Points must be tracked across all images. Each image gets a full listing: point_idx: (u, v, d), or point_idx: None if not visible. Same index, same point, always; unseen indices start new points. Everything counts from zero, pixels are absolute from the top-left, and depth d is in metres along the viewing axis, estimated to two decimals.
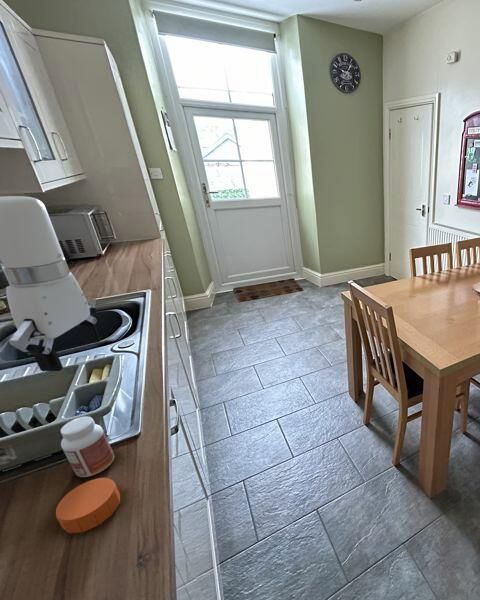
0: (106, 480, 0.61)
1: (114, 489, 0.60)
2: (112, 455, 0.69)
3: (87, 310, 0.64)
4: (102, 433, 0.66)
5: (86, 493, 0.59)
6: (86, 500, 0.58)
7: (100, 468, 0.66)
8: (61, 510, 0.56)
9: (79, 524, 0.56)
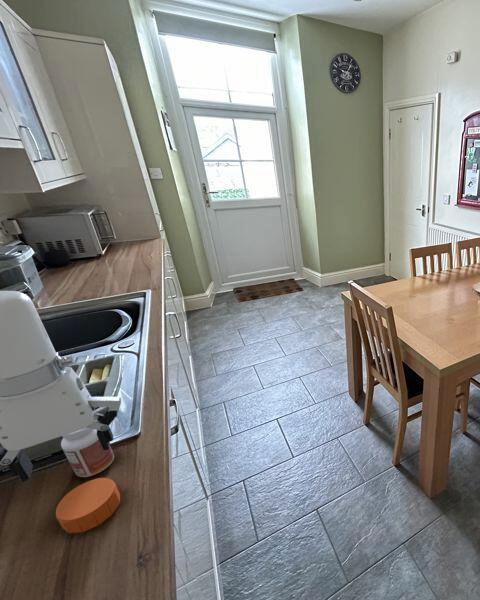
0: (106, 480, 0.61)
1: (114, 489, 0.60)
2: (112, 455, 0.69)
3: (84, 420, 0.52)
4: None
5: (86, 493, 0.59)
6: (86, 500, 0.58)
7: (100, 468, 0.66)
8: (61, 510, 0.56)
9: (79, 524, 0.56)
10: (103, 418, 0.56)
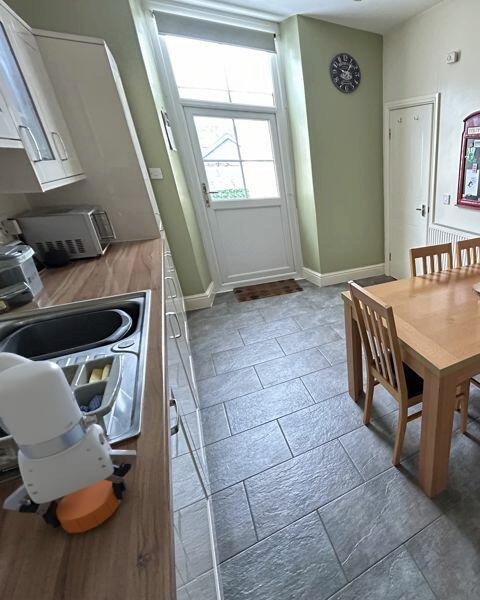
0: (106, 480, 0.61)
1: None
2: None
3: (105, 472, 0.57)
4: (102, 433, 0.66)
5: (86, 493, 0.59)
6: (86, 500, 0.58)
7: None
8: (61, 510, 0.56)
9: (79, 524, 0.56)
10: (119, 470, 0.60)
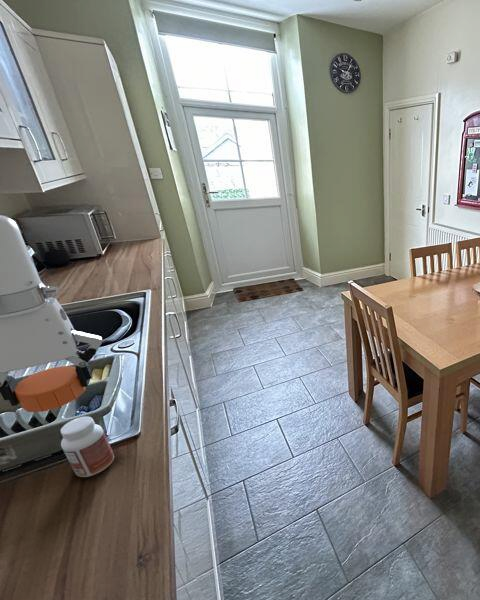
0: (71, 368, 0.59)
1: None
2: (112, 455, 0.69)
3: (66, 350, 0.54)
4: (102, 433, 0.66)
5: (48, 376, 0.56)
6: (47, 381, 0.55)
7: (100, 468, 0.66)
8: (20, 387, 0.54)
9: (38, 402, 0.53)
10: None
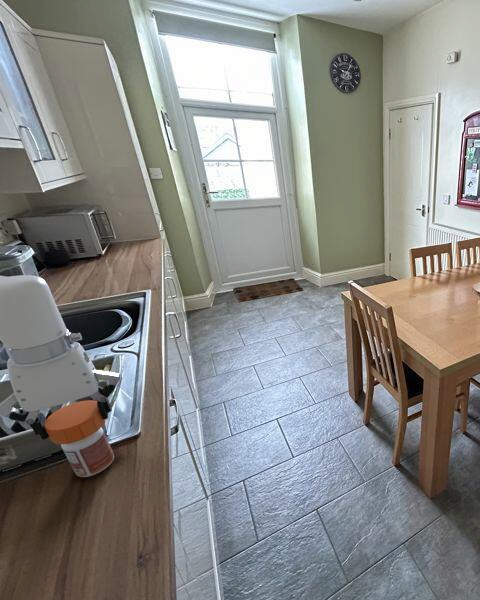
0: (92, 402, 0.66)
1: None
2: (112, 455, 0.69)
3: (89, 388, 0.61)
4: (102, 433, 0.66)
5: (73, 411, 0.63)
6: (73, 416, 0.62)
7: (100, 468, 0.66)
8: (49, 423, 0.60)
9: (66, 435, 0.60)
10: (103, 391, 0.64)
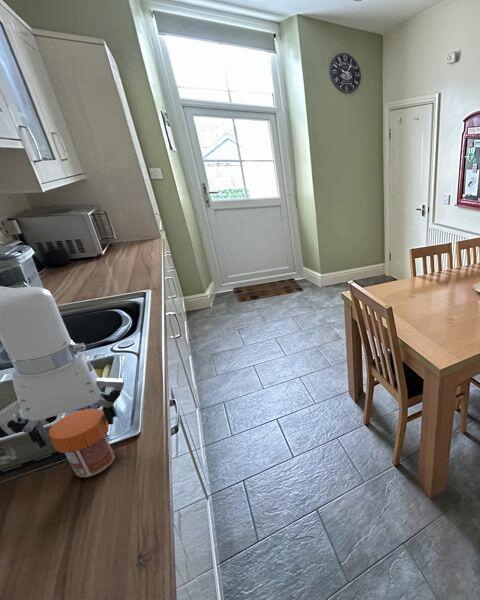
0: (96, 410, 0.66)
1: (103, 417, 0.65)
2: (112, 455, 0.69)
3: (92, 397, 0.62)
4: None
5: (77, 419, 0.64)
6: (77, 424, 0.63)
7: (100, 468, 0.66)
8: (53, 431, 0.61)
9: (70, 444, 0.61)
10: (108, 397, 0.65)
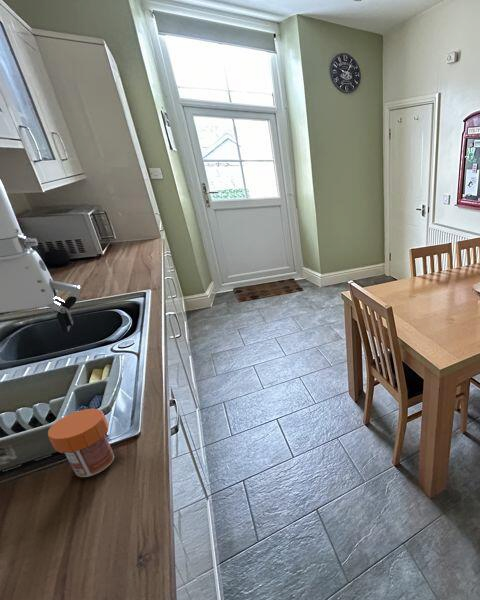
0: (95, 410, 0.66)
1: (102, 417, 0.65)
2: (112, 455, 0.69)
3: (45, 298, 0.60)
4: None
5: (76, 419, 0.64)
6: (76, 424, 0.63)
7: (100, 468, 0.66)
8: (53, 432, 0.61)
9: (70, 444, 0.61)
10: (63, 302, 0.63)
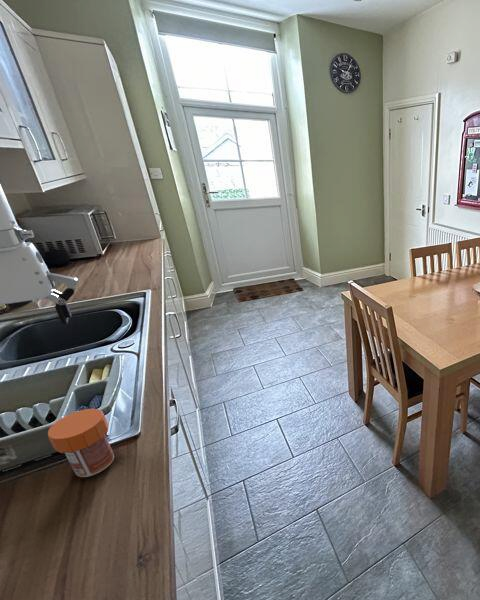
0: (95, 410, 0.66)
1: (102, 417, 0.65)
2: (112, 455, 0.69)
3: (42, 290, 0.60)
4: None
5: (76, 419, 0.64)
6: (76, 424, 0.63)
7: (100, 468, 0.66)
8: (53, 432, 0.61)
9: (70, 444, 0.61)
10: (61, 294, 0.64)
